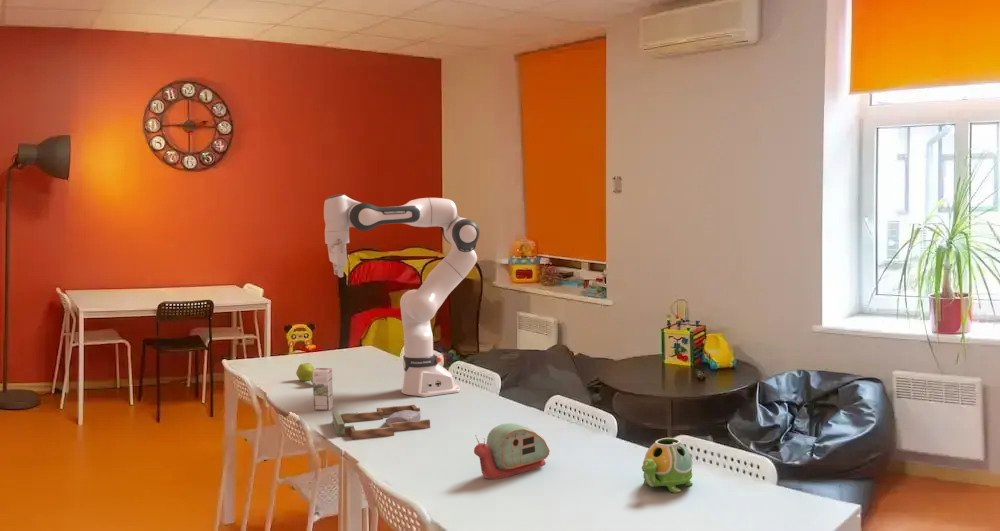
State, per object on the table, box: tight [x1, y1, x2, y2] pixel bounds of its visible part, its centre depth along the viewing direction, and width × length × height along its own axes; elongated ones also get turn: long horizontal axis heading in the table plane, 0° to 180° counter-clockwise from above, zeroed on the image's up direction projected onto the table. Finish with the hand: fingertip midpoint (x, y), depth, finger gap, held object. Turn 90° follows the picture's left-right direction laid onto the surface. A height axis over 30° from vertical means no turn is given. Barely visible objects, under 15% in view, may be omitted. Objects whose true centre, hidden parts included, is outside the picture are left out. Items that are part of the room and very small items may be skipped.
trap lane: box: [331, 404, 431, 440], centre depth 301 cm, size 30×27×4 cm
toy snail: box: [473, 422, 550, 480], centre depth 251 cm, size 25×8×14 cm, turn 129°
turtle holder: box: [641, 437, 693, 494], centre depth 237 cm, size 12×18×12 cm
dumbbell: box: [295, 362, 315, 384], centre depth 365 cm, size 16×8×7 cm, turn 37°
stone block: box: [385, 410, 421, 426], centre depth 303 cm, size 12×5×10 cm
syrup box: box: [312, 367, 334, 411], centre depth 324 cm, size 6×6×14 cm
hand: (338, 275), depth 333 cm, fingers open, 8 cm apart
